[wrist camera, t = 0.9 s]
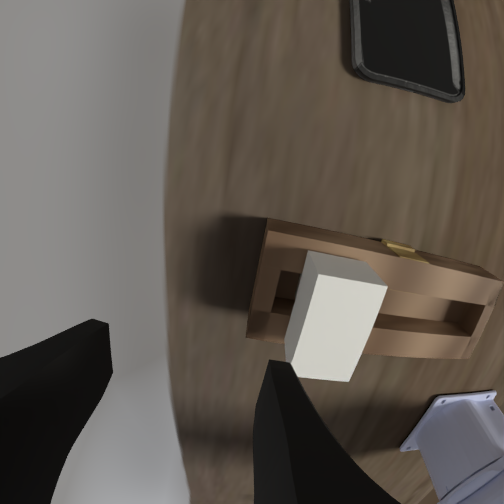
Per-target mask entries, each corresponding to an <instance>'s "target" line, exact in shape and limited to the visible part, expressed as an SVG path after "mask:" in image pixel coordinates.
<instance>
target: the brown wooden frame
mask: <svg viewBox="0 0 504 504" xmlns="http://www.w3.org/2000/svg"><path fill="white" fill-rule="evenodd" d="M308 250H309V251H314V252H319V253H324V254H329V255H334V256H339V257H344V258H349V259H354V260H359V261H364V262H367V263H368V265H369V266H370V267H371V268H372V269H373V270H374V271H375V272H376V274H377V275H378V276H379V277H380V278H381V279H382V280H383V282H384V283H385V284H386V285H387V286H388V288H387V290H386V293H385V296H384V299H383V301H382V304H381V307H380V310H379V312H378V315H377V317H376V320H375V322H374V325H373V328H372V330H371V332H370V335H369V337H368V340H367V342H366V344H365V347H364V349H363V351H362V354H374V355H386V356H401V357H418V358H445V359H469V358H470V356H471V354H472V352H473V350H474V348H475V346H476V344H477V342H478V340H479V338H480V336H481V334H482V332H483V330H484V328H485V326H486V324H487V322H488V319H489V317H490V315H491V313H492V310H493V308H494V306H495V303H496V301H497V298H498V296H499V293H500V291H501V288H502V286H503V283H504V282H503V281H501V280H500V279H498V278H497V277H495V276H494V275H492V274H491V273H489V272H488V271H486V270H485V269H483V268H481V267H480V266H476V265H472V264H468V263H465V262H461V261H457V260H453V259H449V258H445V257H441V256H437V255H433V254H429V253H425V252H421V251H417V250H415V249H413V248H412V247H411V246H409V245H405V244H401V243H397V242H393V241H388V240H384V239H382V241H381V242H379V241H375V240H370V239H366V238H361V237H357V236H352V235H348V234H343V233H339V232H334V231H329V230H325V229H320V228H315V227H310V226H305V225H300V224H295V223H291V222H286V221H280V220H275V219H270V218H268V219H267V224H266V229H265V234H264V239H263V244H262V249H261V253H260V258H259V263H258V268H257V273H256V278H255V283H254V288H253V293H252V298H251V302H250V307H249V313H248V321H247V330H246V338H251V339H257V340H263V341H269V342H275V343H282V344H285V342H284V338H285V335H286V331H287V328H288V324H289V321H290V317H291V314H292V310H293V306H294V303H295V292H296V288H297V284H298V280H299V276H300V273H301V274H302V272H303V268H304V265H305V261H306V257H307V253H308Z"/></svg>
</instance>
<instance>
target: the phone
mask: <svg viewBox="0 0 504 504" xmlns="http://www.w3.org/2000/svg"><path fill="white" fill-rule="evenodd" d="M350 16H351V46H352V66H353V68H354V70H355V72H356V73H357V74H358V75H359V77H361V78H362V79H364V80H366V81H368V82H372V83H376V84H381V83H382V84H381V85H385V86H390V87H394V88H398V89H402V90H406V91H410V92H413V93H417V94H420V95H424V96H427V97H430V98H434V99H437V100H440V101H443V102H446V103H454V102H458V101H461V100H462V99H463V97H464V95H465V78H464V65H463V55H462V47H461V39H460V33H459V26H458V21H457V15H456V10H455V5H454V1H453V0H350Z"/></svg>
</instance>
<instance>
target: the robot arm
mask: <svg viewBox="0 0 504 504" xmlns="http://www.w3.org/2000/svg"><path fill="white" fill-rule="evenodd" d="M112 374H113V368H112V358H111V348H110V336H109V324H108V323H105V322H102V321H98V320H95V319H90V320H88V321H85V322H83V323H81V324H78V325H76V326H74V327H72V328H70V329H67V330H65V331H63V332H61V333H59V334H57V335H55V336H52V337H50V338H48V339H46V340H44V341H42V342H40V343H37V344H35V345H33V346H30V347H27V348H25V349H22V350H20V351H17V352H15V353H12V354H10V355H7V356H4V357H1V358H0V504H50V503H51V499H52V496H53V493H54V490H55V487H56V484H57V481H58V478H59V476H60V473H61V471H62V468H63V466H64V463H65V461H66V458H67V456H68V454H69V452H70V450H71V448H72V446H73V444H74V443H75V441H76V439H77V438H78V436H79V434H80V433H81V431H82V429H83V428H84V426H85V424H86V423H87V421H88V419H89V418H90V416H91V415H92V413H93V411H94V410H95V408H96V406H97V405H98V403H99V402H100V400H101V398H102V396H103V394H104V392H105V390H106V388H107V385H108V383H109V381H110V378H111V376H112ZM495 396H496V391H495V390H494V391H486V392H478V393H468V394H457V395H443V396H438V397H436V398H435V399H434V401H433V402H432V404H431V405H430V407H429V408H428V410H427V411H426V413H425V414H424V416H423V417H422V418H421V420H420V421H419V423H418V424H417V425H416V427H415V428H414V429H413V431H412V432H411V433H410V435H409V436H408V437H407V439H406V440H405V441H404V442H403V444H402V445H401V446H400V451H409V450H417V449H419V450H420V452H421V455H422V457H423V460H424V462H425V465H426V467H427V470H428V472H429V475H430V478H431V480H432V483H433V485H434V488H435V491H436V493H437V496H438V499H439V502H438V503H437V504H504V415H503V413H502V412H501V411H500V409H499V408H498V406H497V405H496V403H495V402H494V401H493V399H494V397H495ZM253 462H254V504H401V503H399V502H398V501H397V500H395V499H394V498H393V497H392V496H390V495H389V494H388V493H387V492H386V491H385V490H383V489H382V488H381V487H380V486H379V485H378V484H376V483H375V482H374V481H373V480H372V479H371V478H370V477H369V476H368V475H367V474H366V473H365V472H364V471H363V470H362V469H361V468H360V467H359V466H358V465H357V464H356V463H355V462H354V461H353V459H352V458H351V457H350V456H349V455H348V454H347V453H346V451H345V450H344V449H343V448H342V446H341V445H340V444H339V443H338V441H337V440H336V438H335V437H334V436H333V434H332V433H331V432H330V430H329V429H328V427H327V426H326V424H325V423H324V421H323V420H322V418H321V417H320V415H319V414H318V412H317V410H316V409H315V407H314V406H313V404H312V402H311V401H310V399H309V397H308V395H307V394H306V392H305V390H304V388H303V386H302V384H301V382H300V381H299V379H298V377H297V375H296V373H295V371H294V369H293V367H292V365H291V364H290V363H289V362H282V361H275V360H269V362H268V366H267V369H266V373H265V376H264V380H263V383H262V387H261V390H260V393H259V397H258V400H257V403H256V409H255V418H254V428H253Z"/></svg>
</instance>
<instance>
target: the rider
mask: <svg viewBox="0 0 504 504" xmlns="http://www.w3.org/2000/svg"><path fill="white" fill-rule="evenodd" d="M387 288H388V286H387V285H386V284H385V283H384V282H383V280H382V279H381V278H380V277H379V276H378V275H377V274H376V272H375V271H374V270H373V269H372V268H371V267H370V266H369V265H368V263H367V262H364V261H359V260H354V259H349V258H344V257H339V256H334V255H329V254H324V253H319V252H314V251H309V250H308V253H307V257H306V261H305V265H304V268H303V272H302V274H301V273H300V276H299V280H298V284H297V288H296V292H295V303H294V306H293V310H292V314H291V317H290V321H289V324H288V328H287V331H286V335H285V338H284V342H285V354H286V362H289V363H290V364H291V365H292V367H293V369H294V371H295V373H296V375H297V377H304V378H313V379H323V380H334V381H347V382H349V380H350V378H351V376H352V374H353V371H354V369H355V367H356V365H357V363H358V360H359V358H360V356H361V354H362V351H363V349H364V347H365V344H366V342H367V340H368V337H369V335H370V332H371V330H372V328H373V325H374V322H375V320H376V317H377V315H378V312H379V310H380V307H381V304H382V301H383V299H384V296H385V293H386V290H387Z"/></svg>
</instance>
